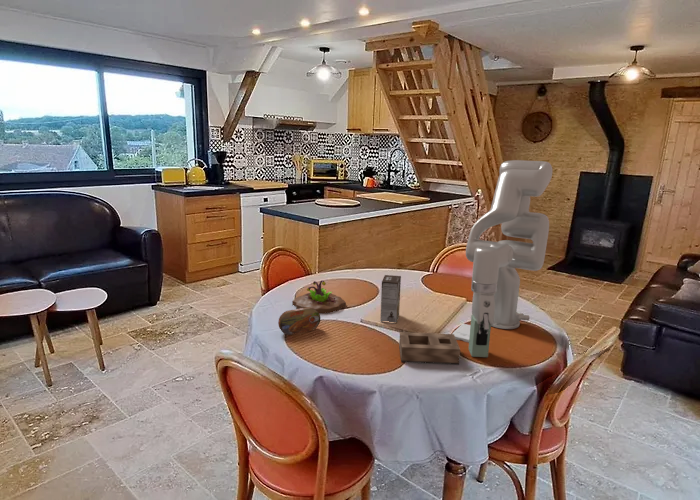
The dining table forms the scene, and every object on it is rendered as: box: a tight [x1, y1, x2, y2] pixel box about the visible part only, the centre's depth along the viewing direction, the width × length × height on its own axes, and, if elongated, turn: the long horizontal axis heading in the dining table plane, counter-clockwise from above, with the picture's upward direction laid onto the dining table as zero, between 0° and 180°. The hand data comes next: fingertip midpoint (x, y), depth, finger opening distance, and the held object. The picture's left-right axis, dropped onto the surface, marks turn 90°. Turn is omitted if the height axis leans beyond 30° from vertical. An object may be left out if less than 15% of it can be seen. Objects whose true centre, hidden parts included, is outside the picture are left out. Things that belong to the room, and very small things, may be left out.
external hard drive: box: [451, 323, 471, 344], centre depth 156 cm, size 2×8×12 cm
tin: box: [278, 307, 321, 336], centre depth 155 cm, size 15×3×8 cm, turn 117°
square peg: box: [468, 314, 492, 358], centre depth 140 cm, size 5×5×12 cm
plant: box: [291, 280, 347, 315], centre depth 180 cm, size 20×20×11 cm
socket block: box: [398, 331, 461, 366], centre depth 139 cm, size 18×11×5 cm, turn 87°
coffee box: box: [379, 274, 402, 323], centre depth 167 cm, size 9×6×16 cm
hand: (479, 340), depth 140 cm, fingers closed on square peg, 5 cm apart
